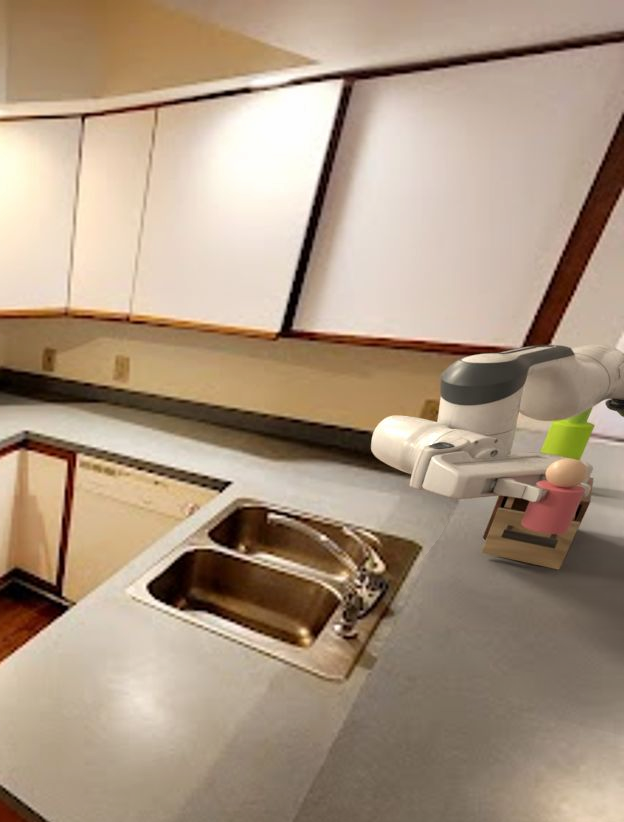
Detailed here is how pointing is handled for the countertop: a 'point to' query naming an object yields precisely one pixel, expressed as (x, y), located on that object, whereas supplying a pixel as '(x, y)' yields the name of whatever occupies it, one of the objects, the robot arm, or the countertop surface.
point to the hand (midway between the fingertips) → (563, 494)
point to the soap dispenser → (569, 436)
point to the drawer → (526, 538)
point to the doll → (557, 498)
